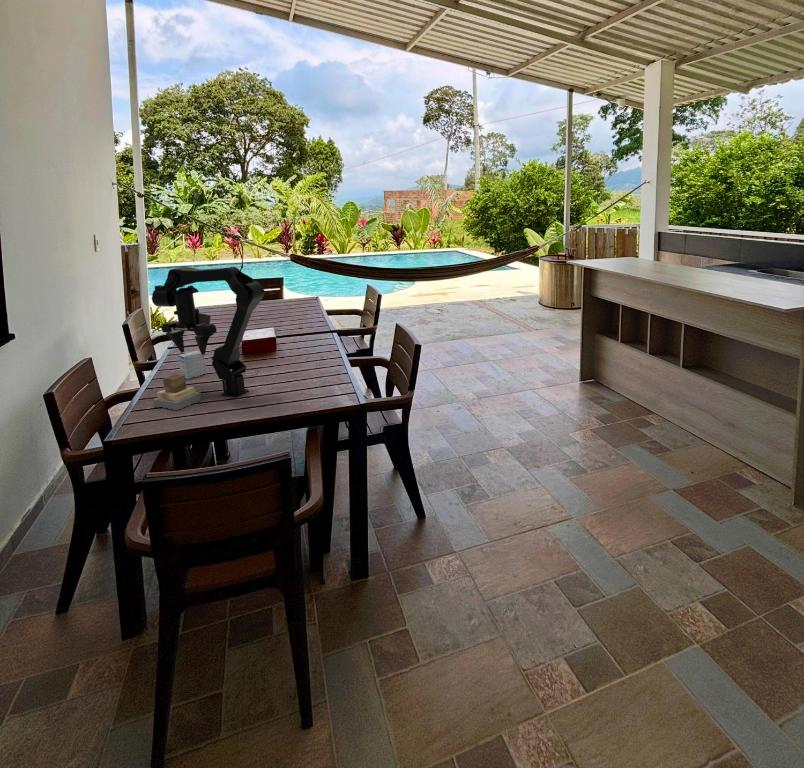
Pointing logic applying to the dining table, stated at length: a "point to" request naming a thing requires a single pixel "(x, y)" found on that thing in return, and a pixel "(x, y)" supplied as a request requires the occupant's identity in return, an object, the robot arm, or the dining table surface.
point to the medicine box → (192, 364)
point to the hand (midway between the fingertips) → (192, 353)
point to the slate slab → (178, 404)
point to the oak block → (176, 394)
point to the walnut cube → (174, 383)
